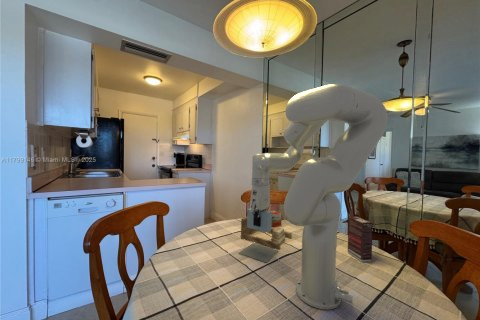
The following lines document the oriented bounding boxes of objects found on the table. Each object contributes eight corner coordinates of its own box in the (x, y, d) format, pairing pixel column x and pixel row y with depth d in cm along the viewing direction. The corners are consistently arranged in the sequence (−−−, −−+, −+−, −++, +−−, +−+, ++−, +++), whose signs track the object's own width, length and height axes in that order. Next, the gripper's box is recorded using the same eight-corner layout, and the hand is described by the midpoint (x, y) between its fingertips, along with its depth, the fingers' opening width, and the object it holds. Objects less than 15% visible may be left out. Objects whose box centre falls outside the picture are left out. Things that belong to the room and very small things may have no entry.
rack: (291, 238, 102) (292, 218, 102) (279, 249, 89) (279, 227, 88) (256, 229, 114) (257, 211, 114) (240, 238, 100) (241, 218, 100)
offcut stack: (285, 240, 100) (285, 228, 100) (278, 245, 93) (279, 232, 93) (277, 238, 102) (277, 226, 102) (271, 243, 95) (271, 231, 95)
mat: (278, 251, 87) (278, 250, 87) (266, 263, 77) (266, 262, 77) (252, 243, 94) (253, 243, 94) (238, 253, 84) (238, 252, 84)
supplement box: (372, 261, 80) (373, 222, 80) (361, 262, 79) (362, 222, 79) (356, 251, 88) (357, 216, 88) (346, 252, 87) (347, 216, 87)
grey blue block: (271, 230, 84) (271, 211, 84) (267, 232, 81) (268, 213, 81) (251, 225, 90) (251, 207, 90) (247, 227, 87) (247, 209, 87)
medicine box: (274, 222, 127) (274, 210, 127) (281, 226, 120) (281, 213, 120) (253, 225, 121) (253, 212, 121) (259, 229, 114) (259, 215, 114)
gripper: (259, 185, 76) (257, 232, 77) (276, 181, 90) (275, 221, 90) (242, 183, 80) (241, 228, 81) (261, 179, 94) (260, 218, 94)
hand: (259, 224), depth 86 cm, fingers closed on grey blue block, 3 cm apart
